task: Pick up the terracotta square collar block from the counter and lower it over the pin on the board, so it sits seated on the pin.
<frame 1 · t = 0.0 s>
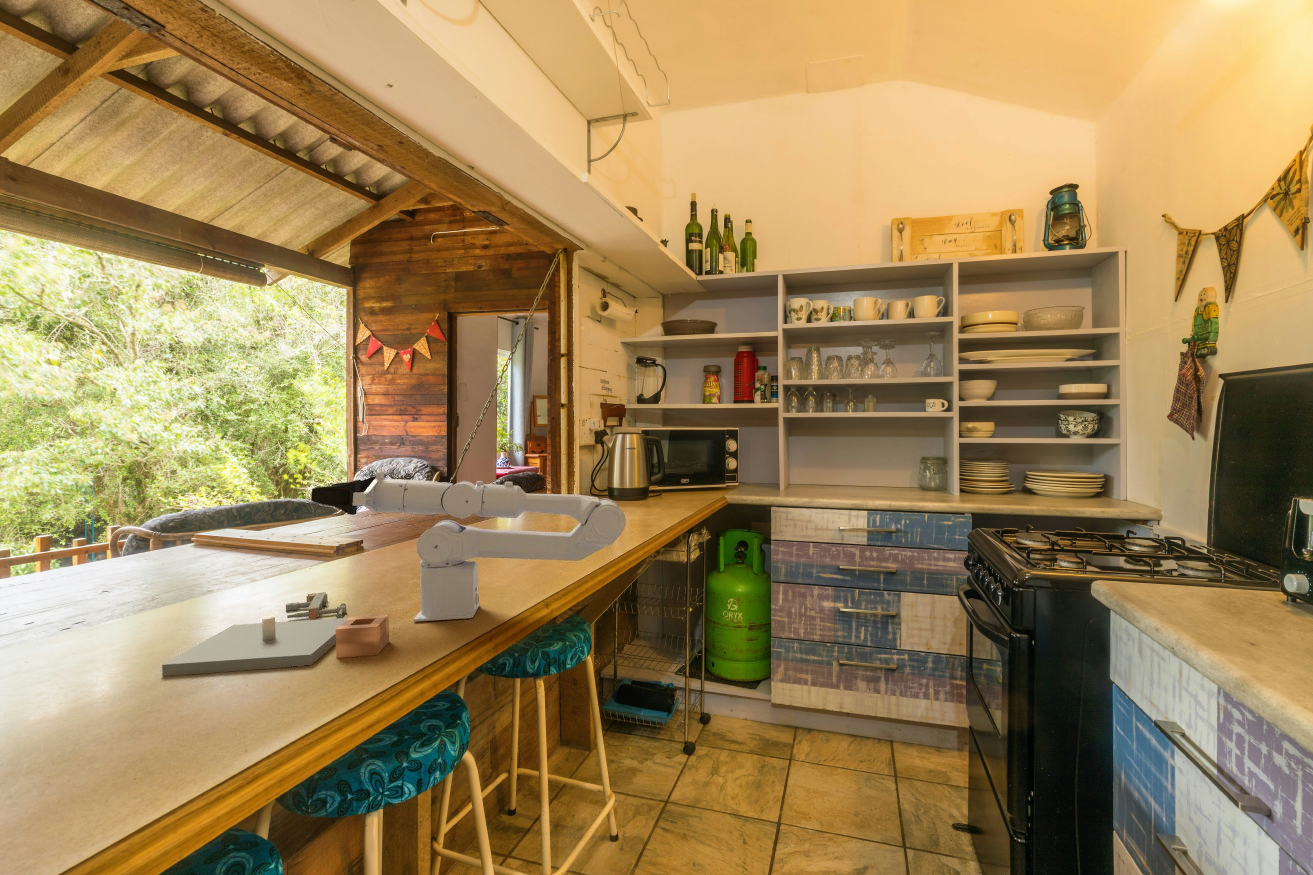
hand: (322, 492, 96), 22 cm above the breakfast bar, tool horizontal, fingers open, 7 cm apart
collar block: (363, 649, 83), on the breakfast bar
pin board: (269, 648, 84), on the breakfast bar
clamp: (315, 615, 102), on the breakfast bar
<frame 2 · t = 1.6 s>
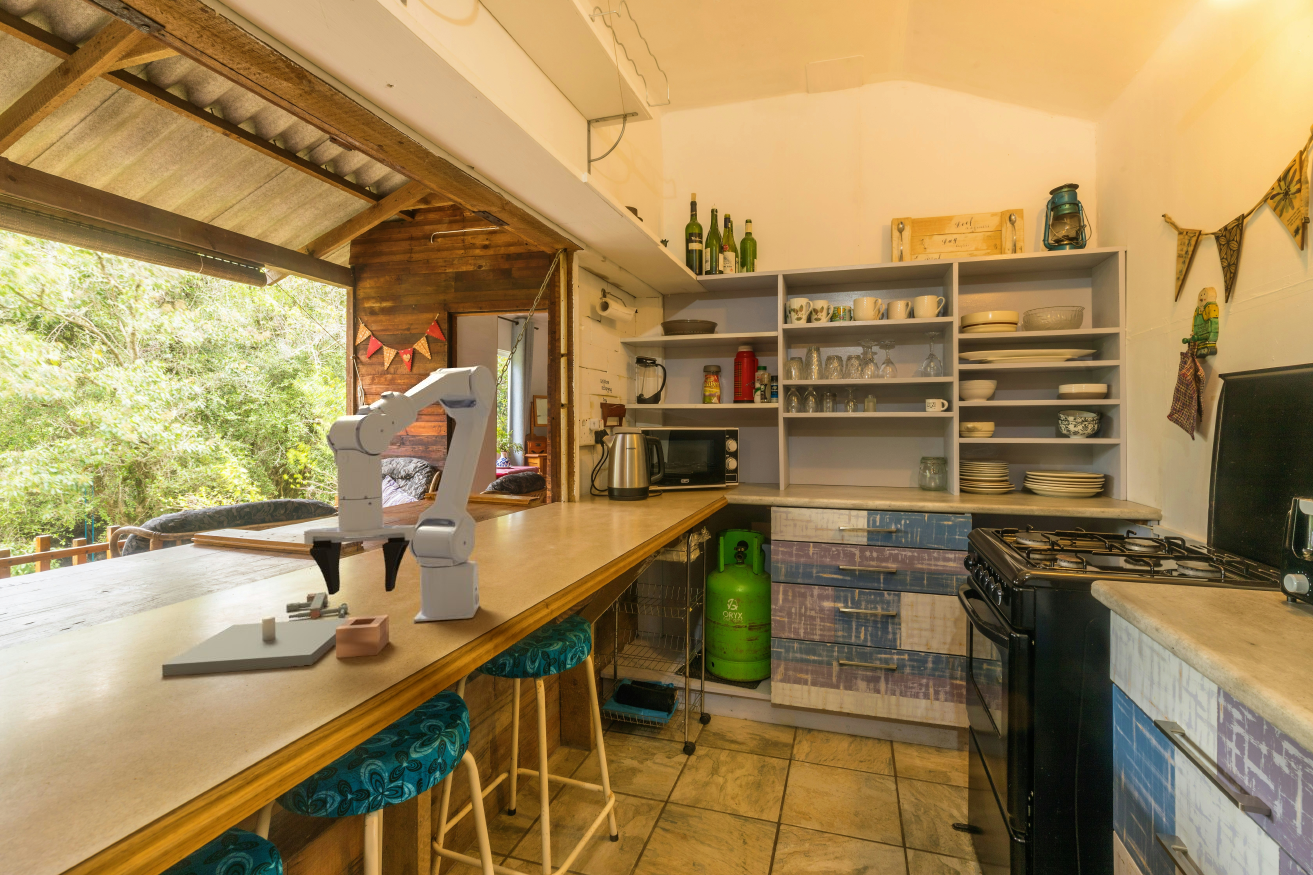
hand: (362, 591, 83), 8 cm above the breakfast bar, tool pointing down, fingers open, 7 cm apart
nothing on the breakfast bar moved.
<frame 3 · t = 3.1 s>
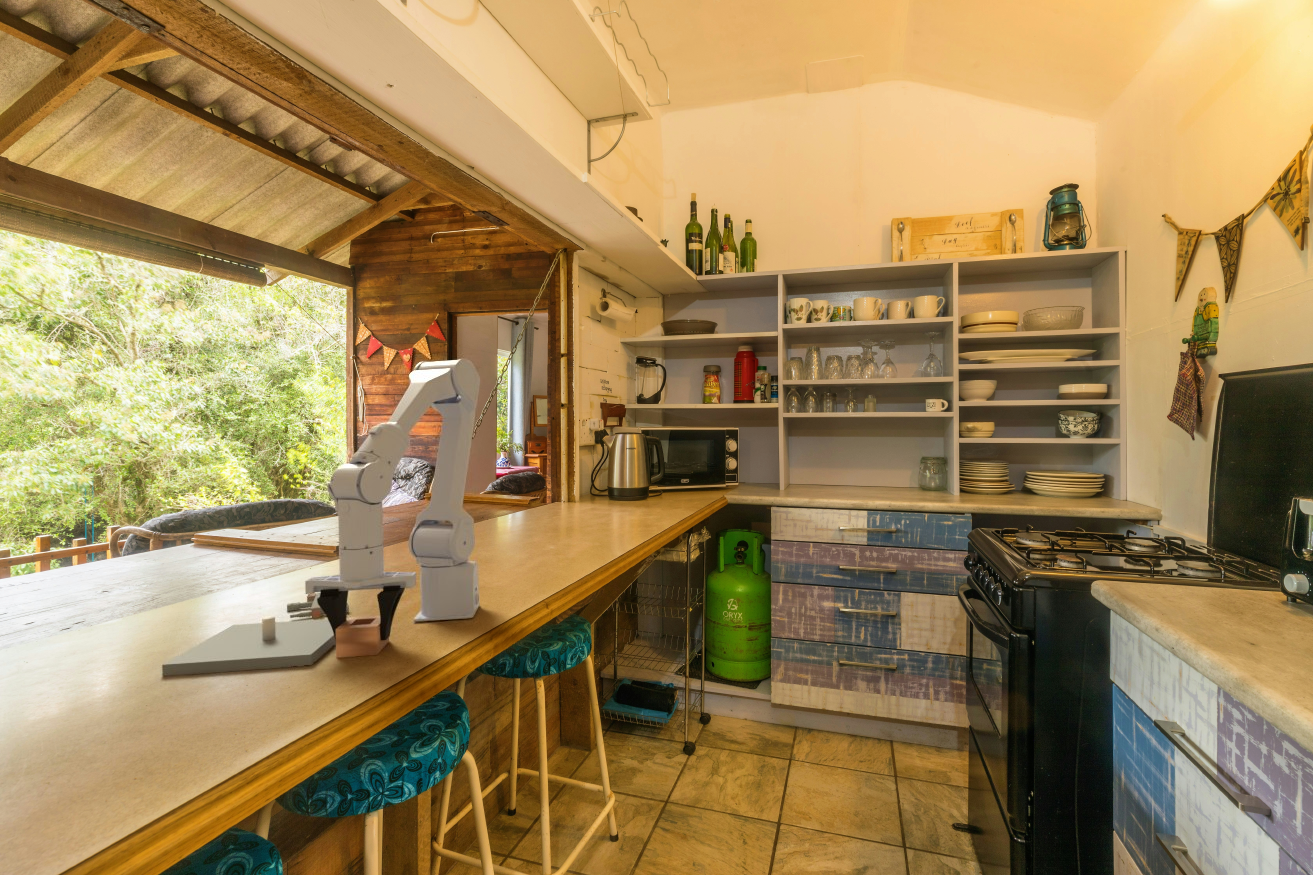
hand: (363, 639, 83), 1 cm above the breakfast bar, tool pointing down, fingers closed on collar block, 5 cm apart
collar block: (363, 649, 83), on the breakfast bar, touching gripper
everything else where it was.
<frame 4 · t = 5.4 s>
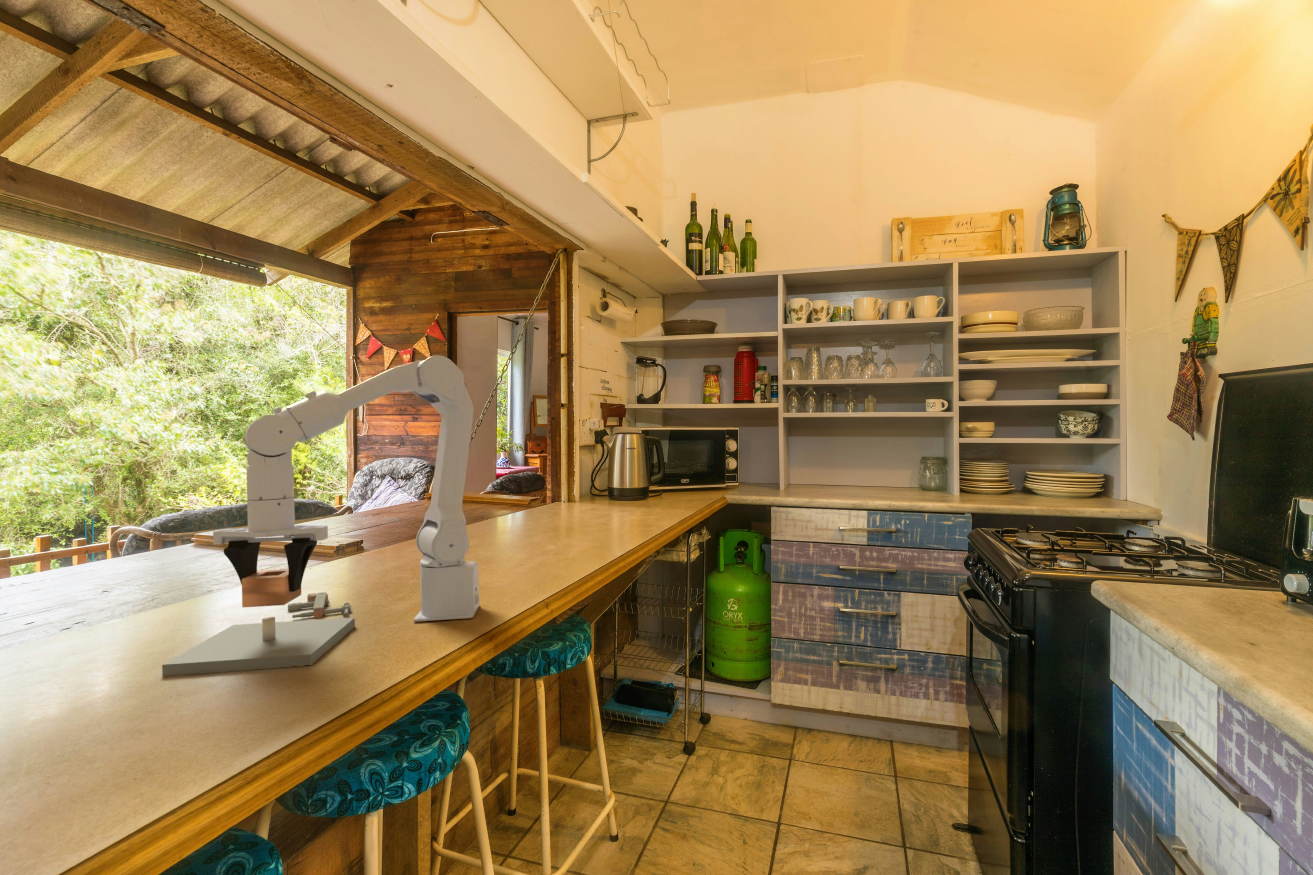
hand: (272, 591, 84), 8 cm above the breakfast bar, tool pointing down, fingers closed on collar block, 5 cm apart
collar block: (272, 600, 84), point 7 cm above the breakfast bar, touching gripper
everything else where it was.
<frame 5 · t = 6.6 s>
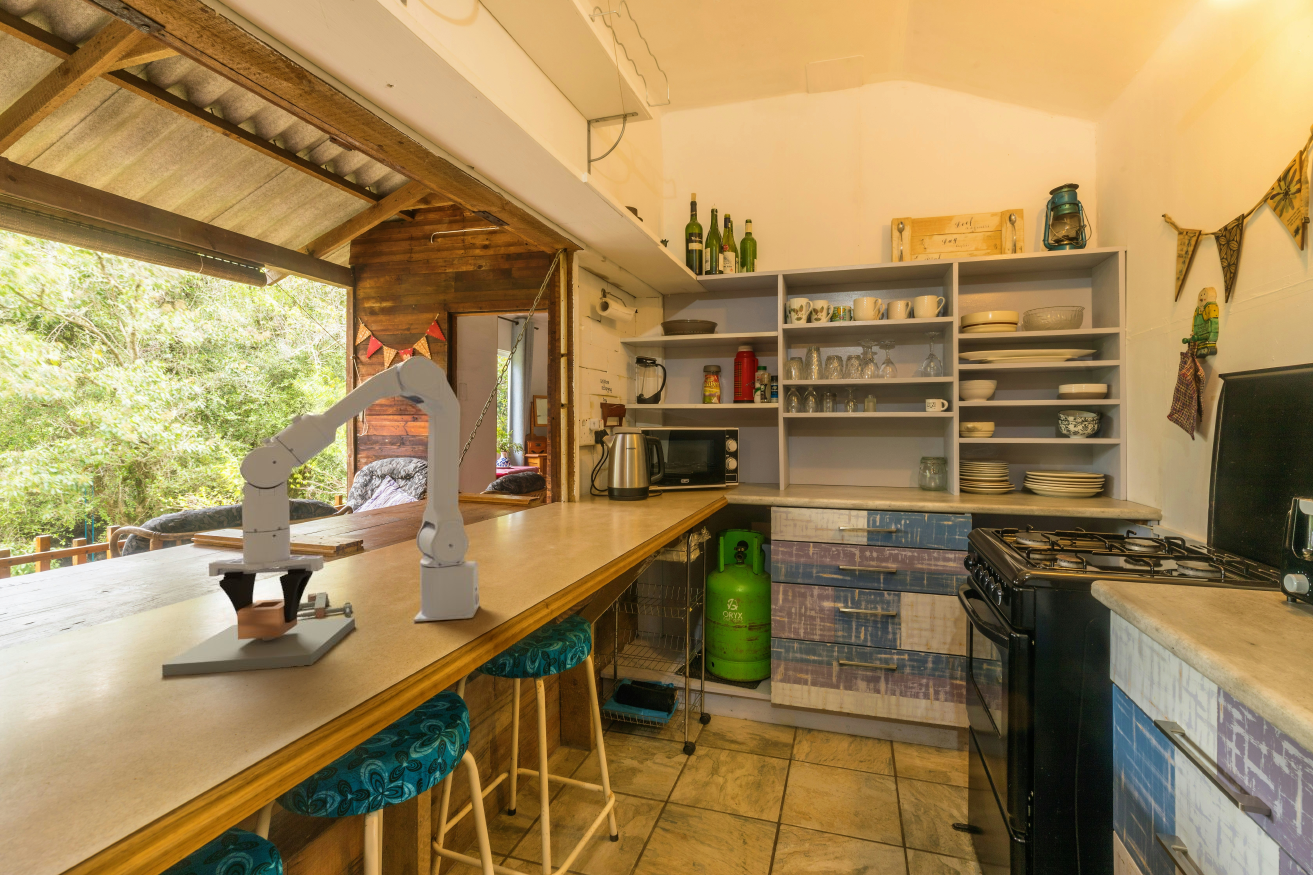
hand: (268, 621, 84), 4 cm above the breakfast bar, tool pointing down, fingers closed on collar block, 5 cm apart
collar block: (268, 631, 84), point 3 cm above the breakfast bar, touching gripper
everything else where it was.
when the fingers open (4 cm above the breakfast bar, at t = 7.5 s): collar block stays where it is, resting on pin board.
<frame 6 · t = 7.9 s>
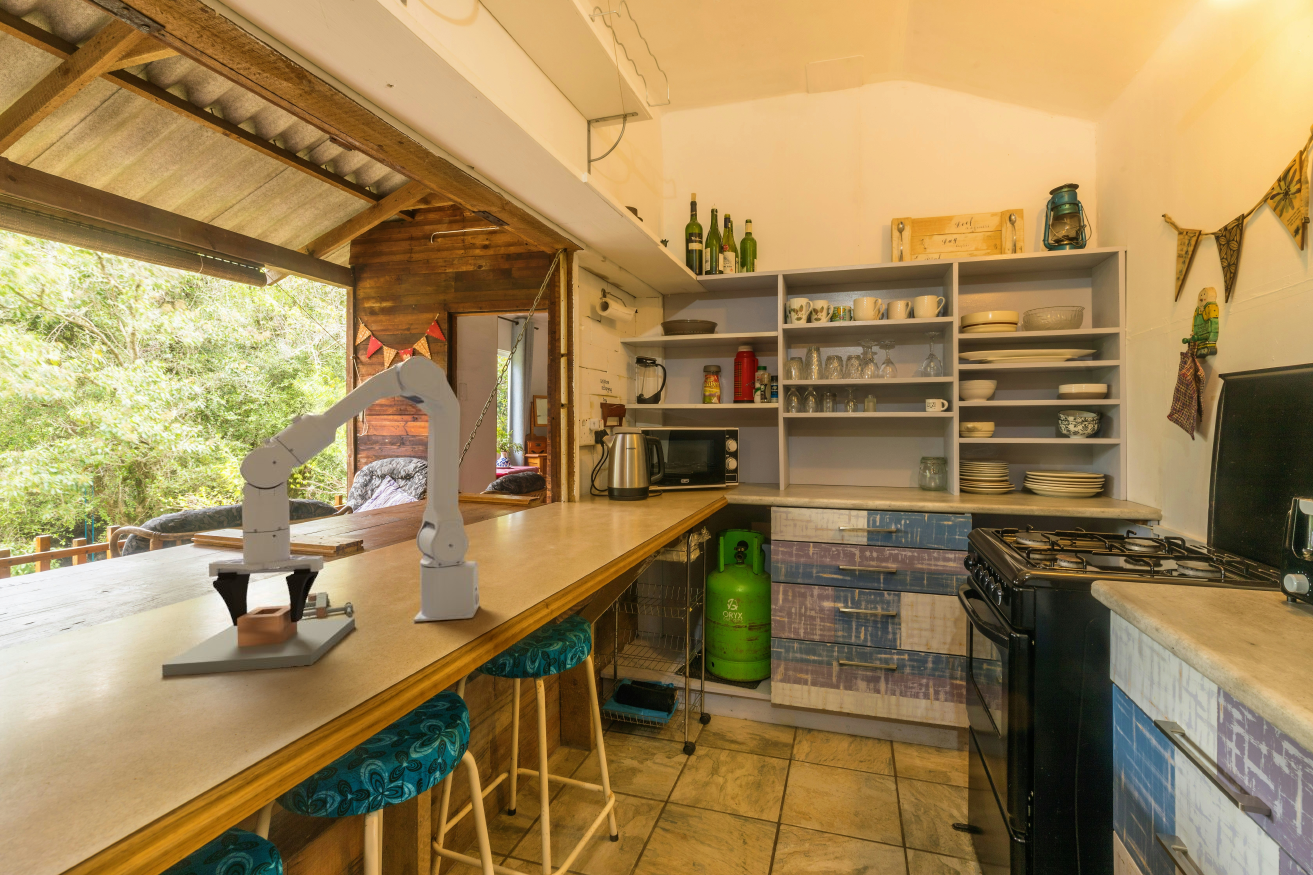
hand: (268, 622, 84), 4 cm above the breakfast bar, tool pointing down, fingers open, 7 cm apart
collar block: (268, 638, 84), point 1 cm above the breakfast bar, touching pin board
everything else where it was.
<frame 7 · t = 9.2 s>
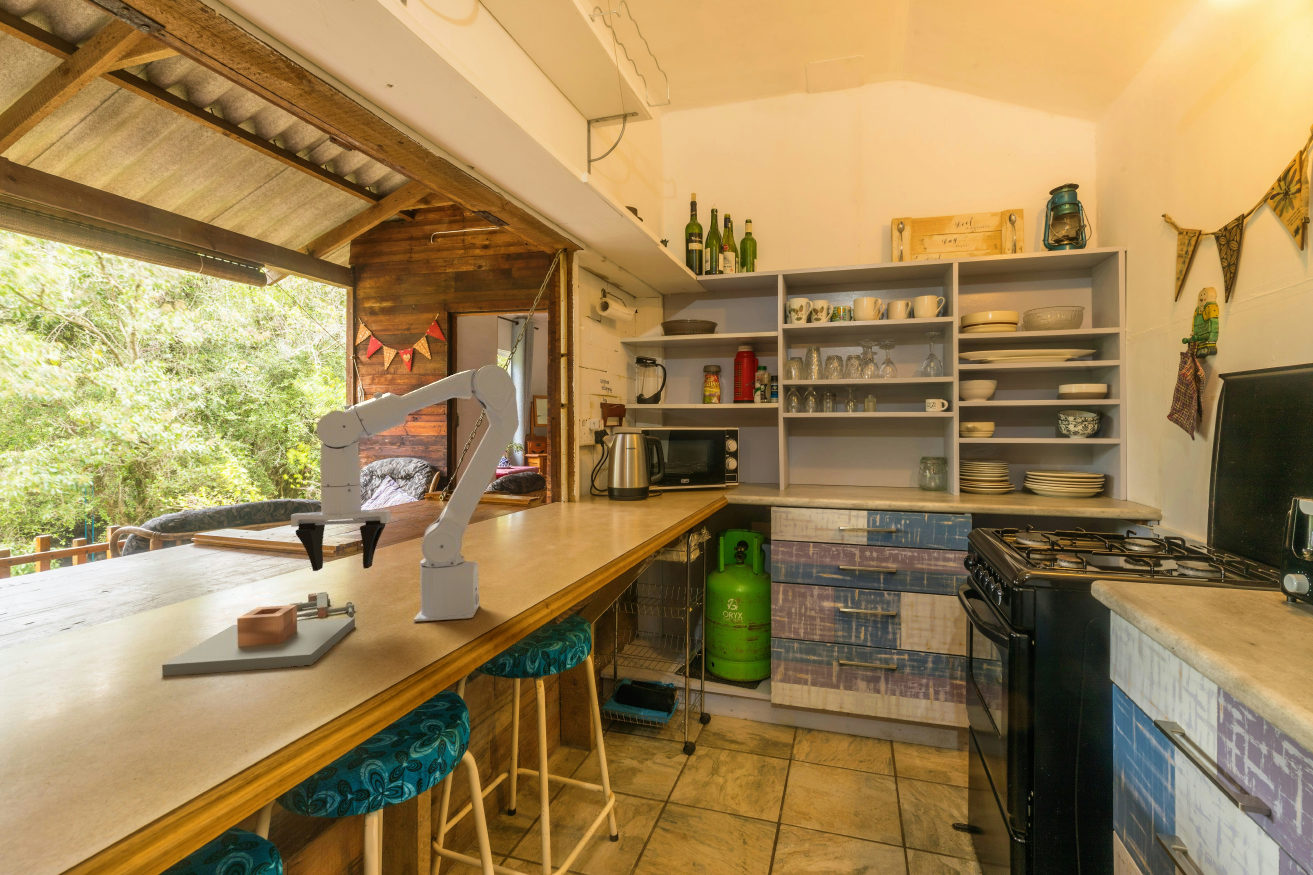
hand: (342, 568, 94), 9 cm above the breakfast bar, tool pointing down, fingers open, 7 cm apart
nothing on the breakfast bar moved.
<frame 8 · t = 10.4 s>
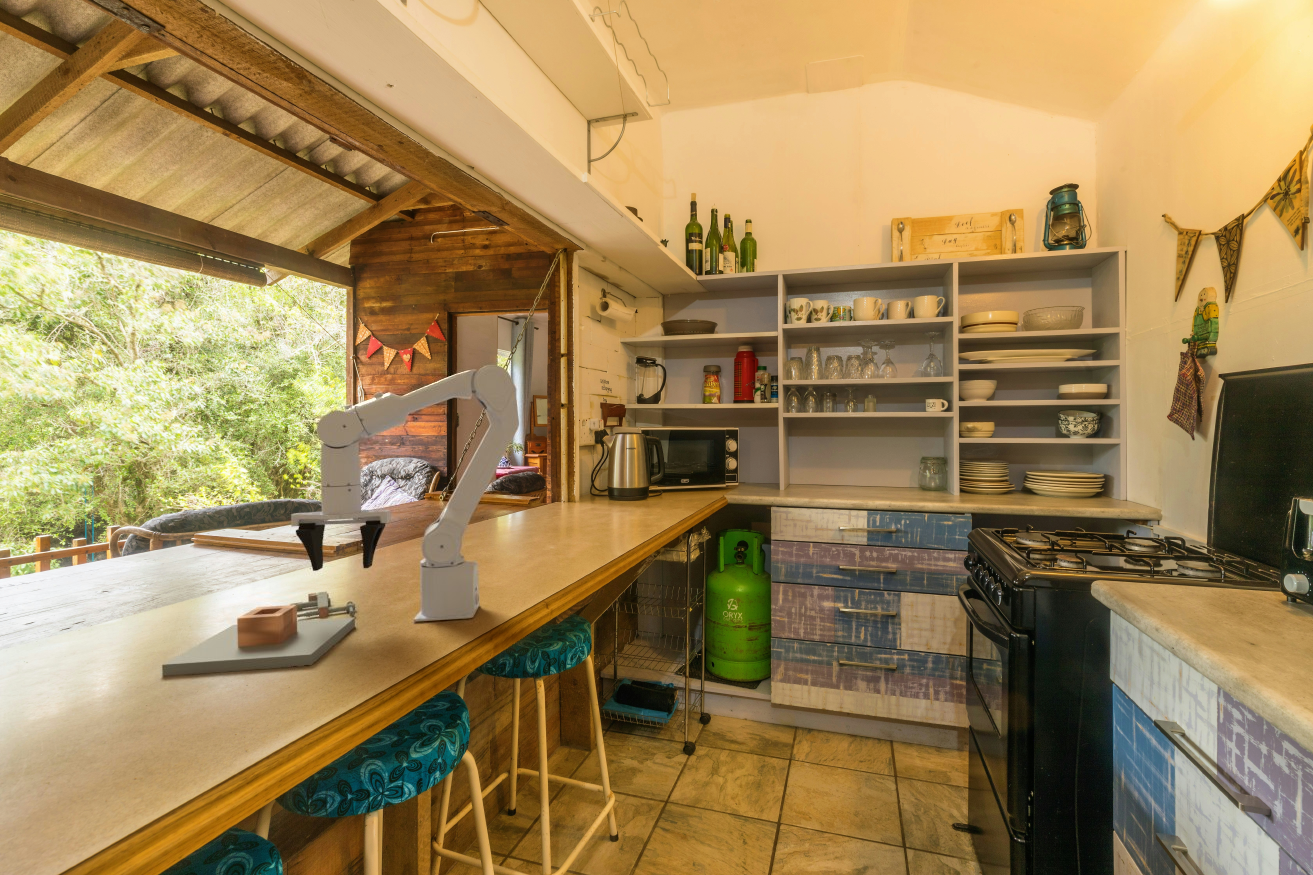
hand: (342, 568, 94), 9 cm above the breakfast bar, tool pointing down, fingers open, 7 cm apart
at the end: collar block 0.1 cm off-centre on the pin board, point 1.5 cm above the pin board's base; collar block tilted 0°; the gripper is holding nothing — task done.
